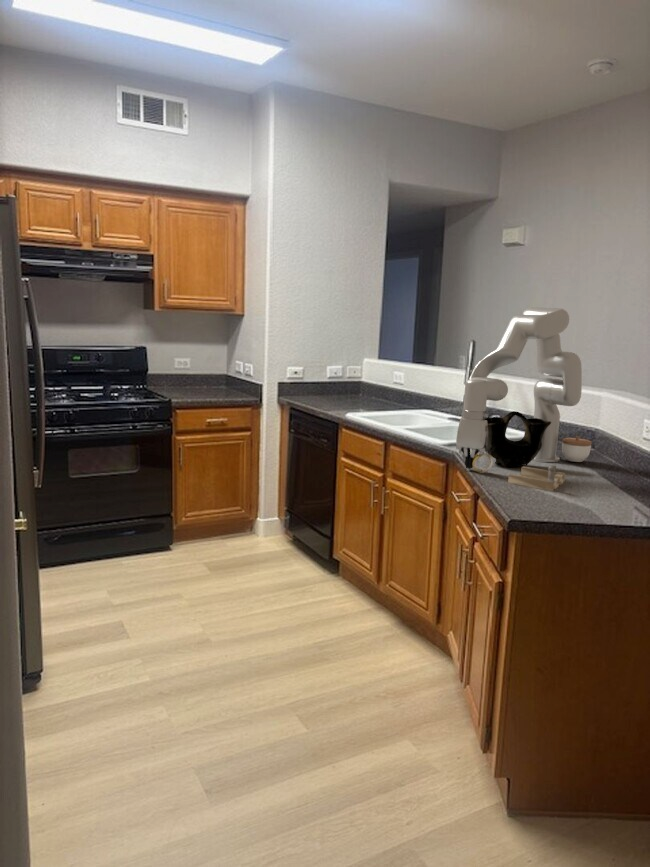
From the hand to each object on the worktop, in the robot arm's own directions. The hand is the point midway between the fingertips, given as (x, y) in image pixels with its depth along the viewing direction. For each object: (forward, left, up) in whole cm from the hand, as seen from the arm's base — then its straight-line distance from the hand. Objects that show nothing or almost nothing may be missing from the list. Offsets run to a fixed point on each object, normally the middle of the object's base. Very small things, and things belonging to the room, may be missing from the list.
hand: (469, 467), depth 225 cm
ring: (0, +4, -2) cm, 4 cm away
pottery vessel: (-20, +9, -2) cm, 22 cm away
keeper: (0, +22, -1) cm, 22 cm away
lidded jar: (-47, +25, -2) cm, 53 cm away
